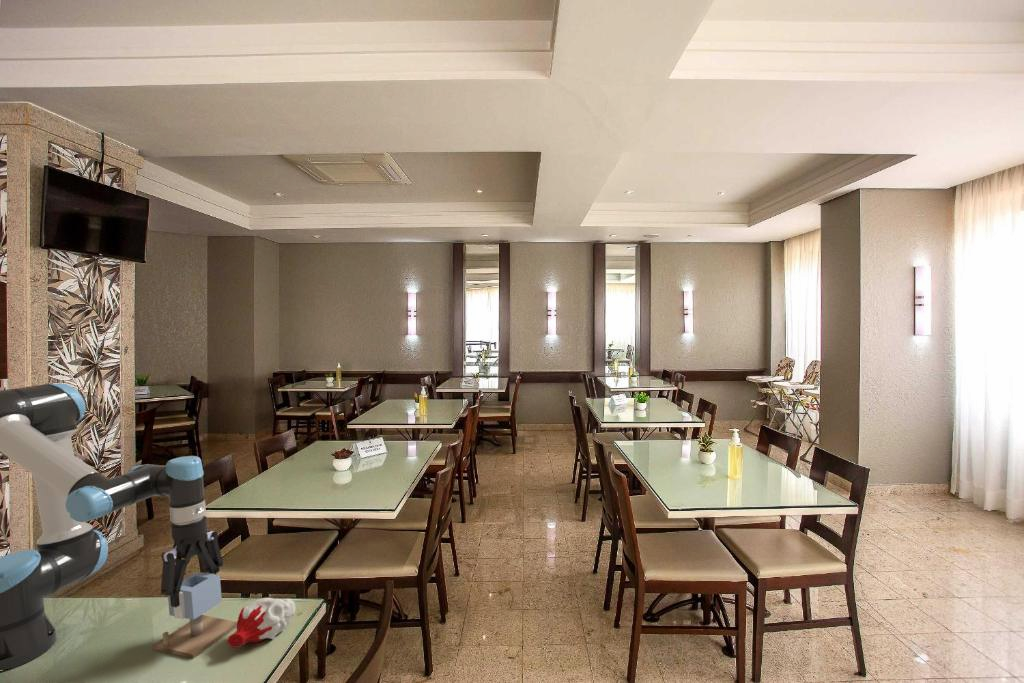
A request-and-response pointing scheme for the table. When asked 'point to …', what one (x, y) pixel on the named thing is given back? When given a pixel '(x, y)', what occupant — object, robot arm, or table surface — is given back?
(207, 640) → the post base
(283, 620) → the candle
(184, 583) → the square nut with handle
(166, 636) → the dowel
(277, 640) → the table surface
